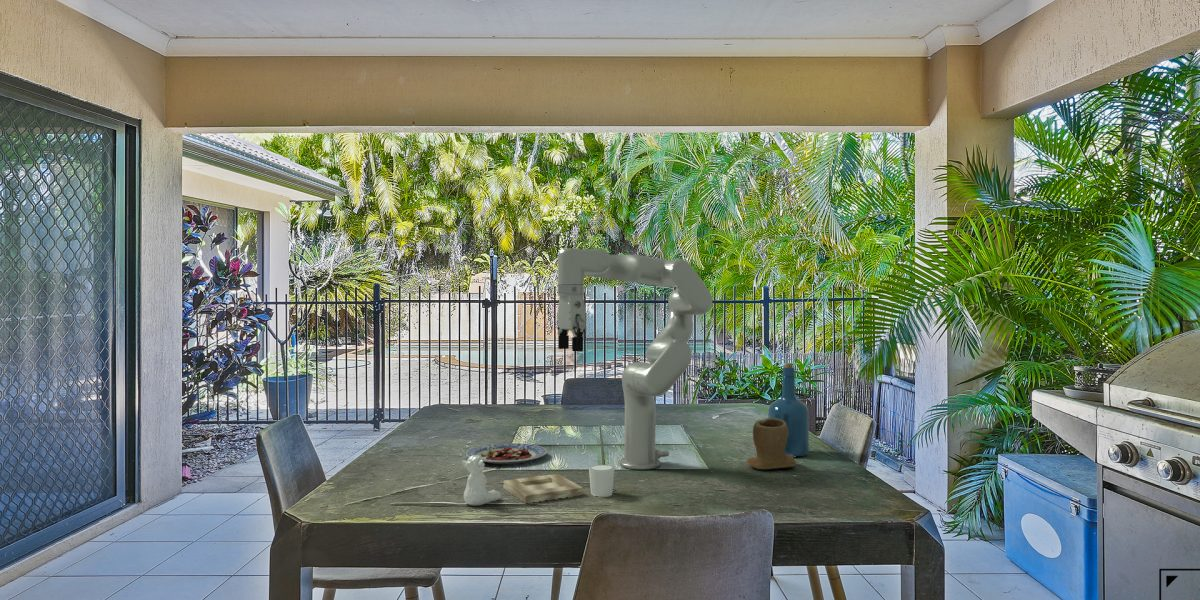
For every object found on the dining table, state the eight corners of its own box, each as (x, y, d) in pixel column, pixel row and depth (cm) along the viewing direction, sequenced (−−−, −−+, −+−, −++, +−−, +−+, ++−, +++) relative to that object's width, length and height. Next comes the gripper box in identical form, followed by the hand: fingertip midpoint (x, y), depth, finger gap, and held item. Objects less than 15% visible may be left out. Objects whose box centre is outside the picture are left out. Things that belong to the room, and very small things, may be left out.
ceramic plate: (562, 455, 223) (562, 446, 223) (512, 472, 201) (512, 462, 201) (502, 446, 237) (502, 437, 237) (448, 461, 215) (449, 451, 215)
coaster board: (557, 480, 191) (557, 473, 191) (582, 495, 177) (582, 487, 177) (503, 488, 184) (503, 480, 184) (525, 503, 170) (525, 495, 170)
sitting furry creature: (501, 498, 174) (501, 451, 174) (488, 508, 166) (489, 459, 166) (467, 496, 176) (467, 449, 176) (452, 505, 168) (453, 457, 168)
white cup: (612, 498, 174) (612, 471, 174) (585, 496, 176) (586, 469, 176) (616, 491, 181) (616, 464, 181) (591, 489, 183) (591, 463, 183)
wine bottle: (814, 458, 219) (814, 365, 219) (773, 458, 219) (773, 365, 219) (802, 449, 233) (802, 361, 233) (763, 448, 233) (763, 361, 233)
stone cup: (758, 474, 199) (758, 423, 199) (742, 464, 210) (742, 416, 210) (806, 472, 201) (806, 421, 201) (788, 462, 213) (788, 415, 213)
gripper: (595, 291, 192) (595, 351, 192) (570, 291, 207) (569, 347, 207) (571, 290, 188) (570, 352, 188) (547, 291, 204) (546, 348, 204)
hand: (570, 349), depth 198 cm, fingers open, 9 cm apart
